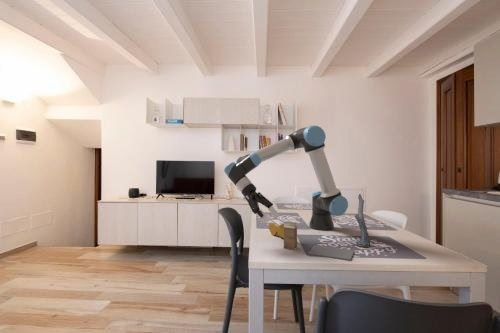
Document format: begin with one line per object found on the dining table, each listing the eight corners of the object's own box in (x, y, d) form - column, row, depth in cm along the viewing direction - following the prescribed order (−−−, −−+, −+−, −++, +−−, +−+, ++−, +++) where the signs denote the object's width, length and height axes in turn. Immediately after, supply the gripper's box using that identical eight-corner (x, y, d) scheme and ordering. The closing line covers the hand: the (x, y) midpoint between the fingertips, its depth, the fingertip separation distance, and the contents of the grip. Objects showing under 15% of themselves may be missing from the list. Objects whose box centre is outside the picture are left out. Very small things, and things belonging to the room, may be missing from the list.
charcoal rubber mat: (315, 246, 136) (315, 244, 136) (354, 251, 128) (354, 250, 128) (307, 254, 123) (307, 252, 123) (350, 260, 115) (350, 259, 115)
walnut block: (287, 245, 137) (287, 221, 137) (297, 247, 134) (297, 222, 134) (283, 248, 132) (283, 223, 132) (293, 249, 130) (294, 224, 130)
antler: (372, 248, 133) (372, 196, 133) (354, 247, 135) (355, 195, 135) (367, 241, 144) (368, 193, 144) (351, 240, 146) (352, 193, 146)
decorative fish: (297, 240, 140) (294, 220, 142) (292, 241, 139) (289, 221, 141) (274, 240, 159) (272, 222, 161) (269, 241, 158) (267, 223, 160)
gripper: (252, 190, 156) (277, 219, 149) (229, 194, 134) (257, 229, 127) (261, 181, 153) (286, 210, 147) (239, 184, 131) (268, 218, 124)
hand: (273, 219), depth 137 cm, fingers open, 13 cm apart
